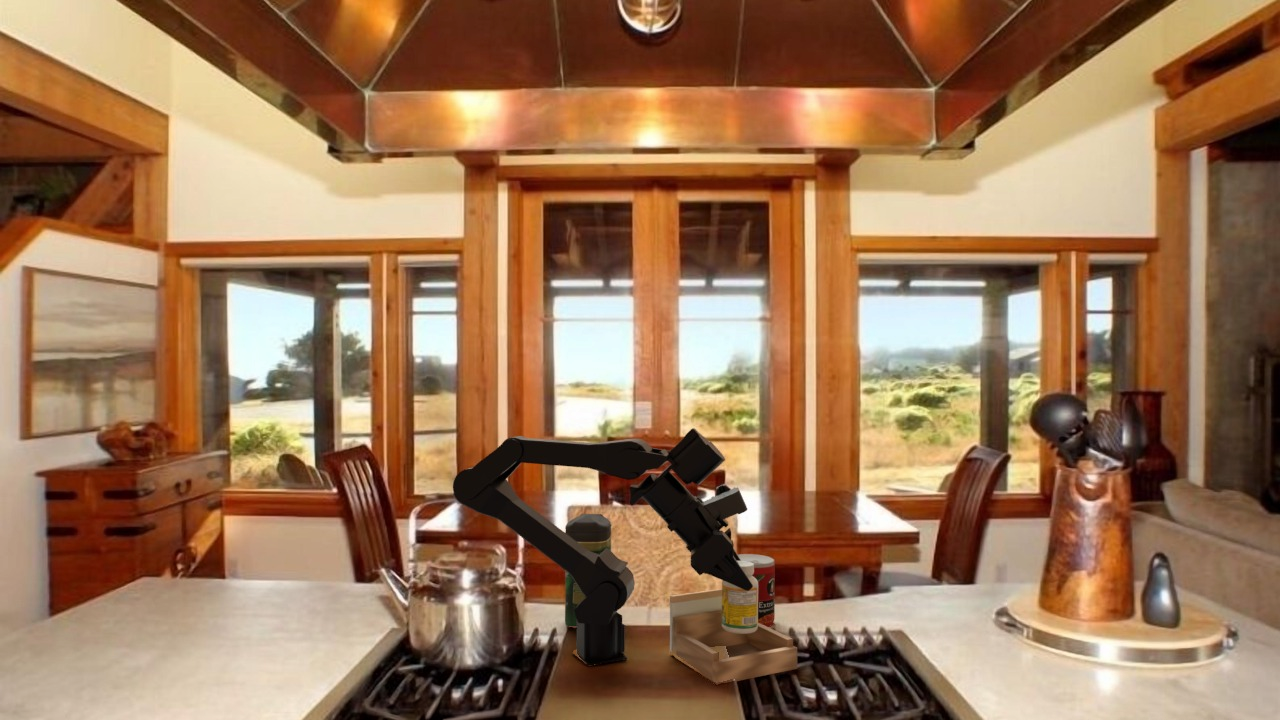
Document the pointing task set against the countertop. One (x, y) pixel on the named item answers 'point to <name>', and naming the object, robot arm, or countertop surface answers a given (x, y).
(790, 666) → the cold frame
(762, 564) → the canned food
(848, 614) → the countertop surface
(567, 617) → the coffee jar
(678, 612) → the lid panel
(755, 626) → the supplement bottle
